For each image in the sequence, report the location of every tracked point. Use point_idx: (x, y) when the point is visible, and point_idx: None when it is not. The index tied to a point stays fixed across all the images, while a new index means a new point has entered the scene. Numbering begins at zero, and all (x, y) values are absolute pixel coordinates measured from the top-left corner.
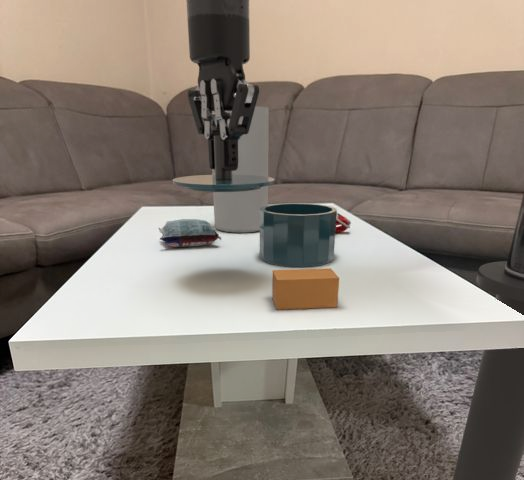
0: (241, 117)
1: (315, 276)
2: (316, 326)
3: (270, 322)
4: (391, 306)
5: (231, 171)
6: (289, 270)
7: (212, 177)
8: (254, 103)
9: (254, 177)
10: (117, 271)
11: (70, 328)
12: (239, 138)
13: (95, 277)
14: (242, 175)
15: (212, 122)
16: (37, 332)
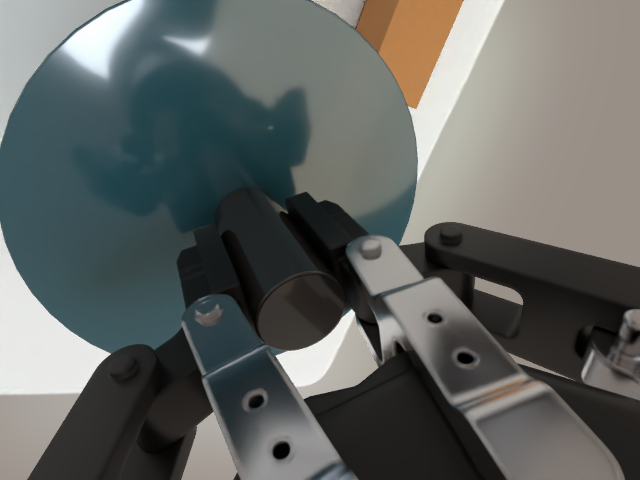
0: (434, 279)
1: (441, 25)
2: (462, 72)
3: (417, 129)
4: None
5: (281, 206)
6: (384, 53)
7: (163, 246)
8: (634, 277)
9: (227, 70)
10: (30, 334)
11: (312, 350)
12: (375, 237)
13: (74, 364)
14: (90, 83)
15: (147, 412)
16: (307, 376)
